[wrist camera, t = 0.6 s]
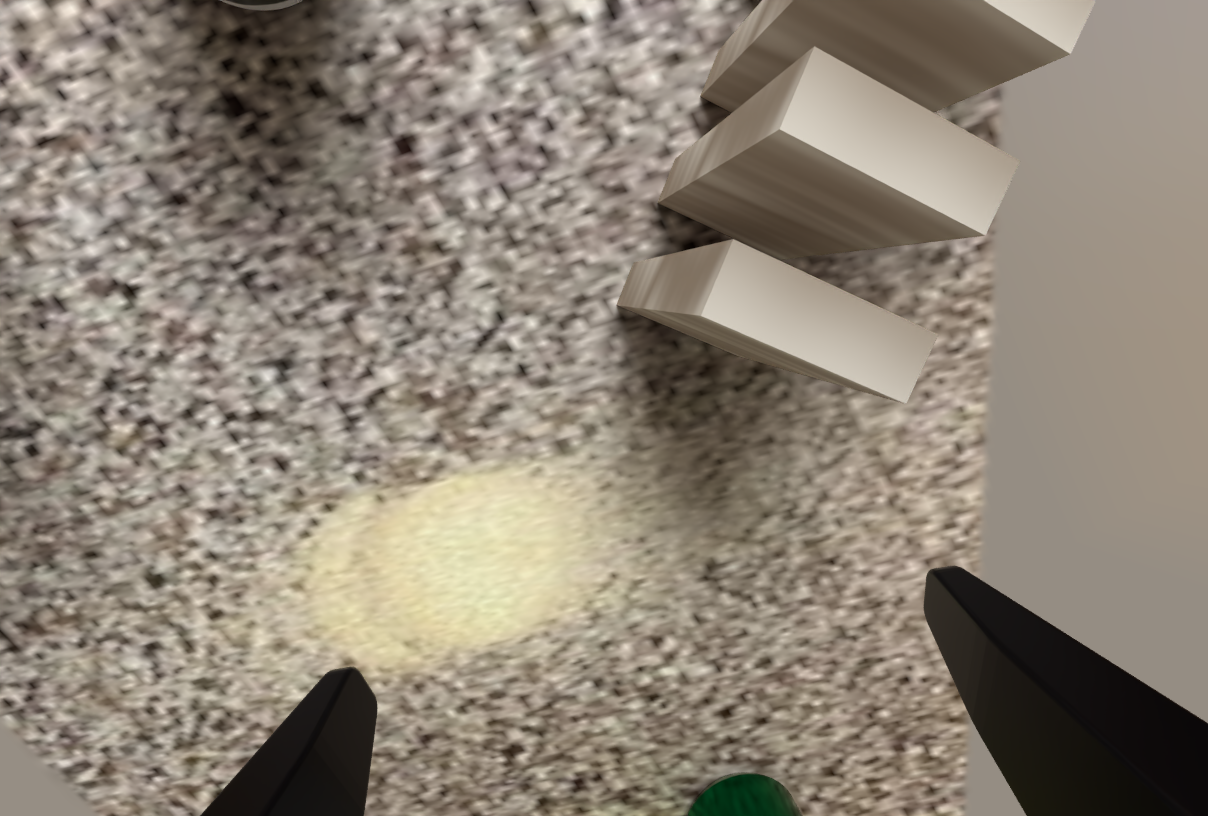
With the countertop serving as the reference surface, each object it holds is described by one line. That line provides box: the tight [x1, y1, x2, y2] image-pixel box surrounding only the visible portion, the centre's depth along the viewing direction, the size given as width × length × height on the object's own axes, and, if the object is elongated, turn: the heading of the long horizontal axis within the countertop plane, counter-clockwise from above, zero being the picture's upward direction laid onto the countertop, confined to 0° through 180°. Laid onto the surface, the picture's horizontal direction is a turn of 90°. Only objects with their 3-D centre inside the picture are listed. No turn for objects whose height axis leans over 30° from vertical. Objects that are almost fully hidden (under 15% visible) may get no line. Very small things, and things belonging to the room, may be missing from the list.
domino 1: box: [617, 239, 939, 404], centre depth 17 cm, size 2×5×10 cm, turn 68°
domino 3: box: [700, 0, 1096, 113], centre depth 16 cm, size 2×5×10 cm, turn 68°
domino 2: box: [658, 46, 1020, 260], centre depth 17 cm, size 2×5×10 cm, turn 68°
